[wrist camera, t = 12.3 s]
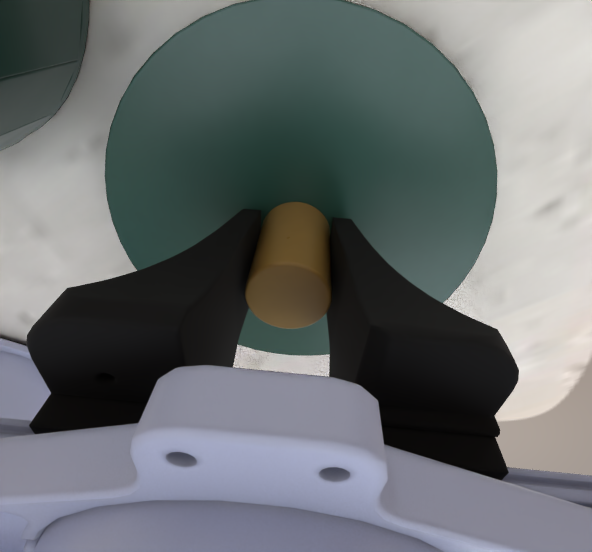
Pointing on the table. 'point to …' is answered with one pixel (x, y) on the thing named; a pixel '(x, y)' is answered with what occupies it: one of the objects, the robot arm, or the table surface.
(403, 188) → the tin lid
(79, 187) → the table surface
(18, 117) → the tin
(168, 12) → the table surface
